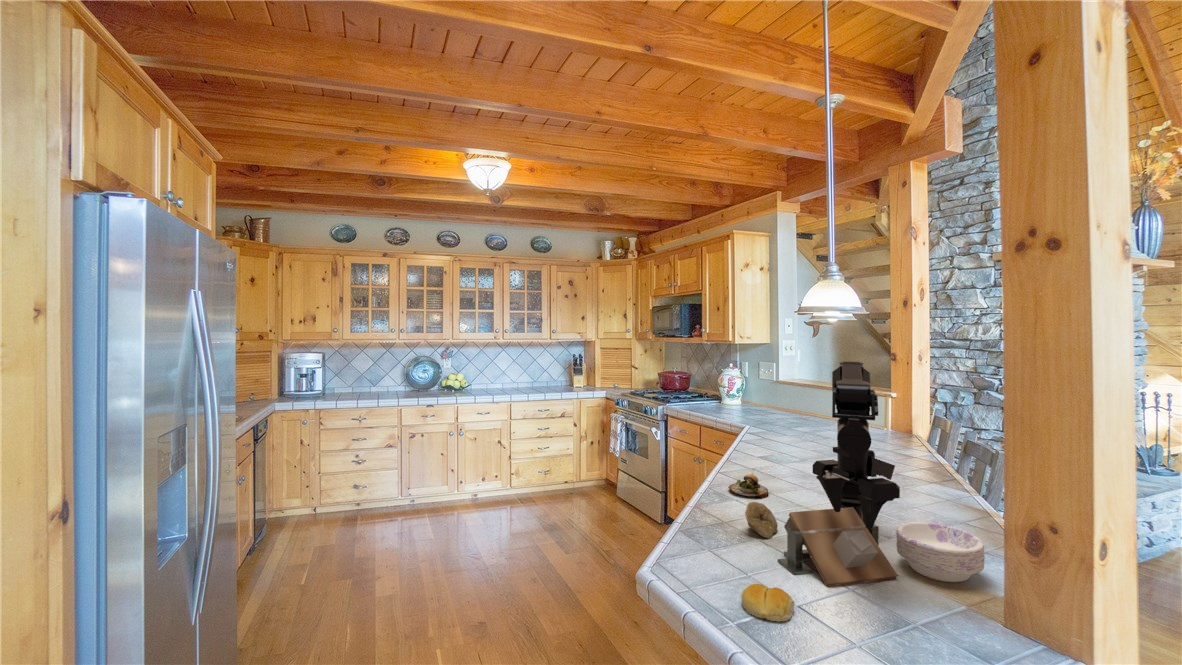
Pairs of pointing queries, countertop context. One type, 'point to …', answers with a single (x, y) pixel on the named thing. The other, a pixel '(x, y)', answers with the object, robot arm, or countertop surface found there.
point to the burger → (749, 487)
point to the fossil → (761, 519)
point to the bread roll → (768, 602)
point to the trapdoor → (819, 541)
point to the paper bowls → (940, 551)
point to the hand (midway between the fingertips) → (852, 519)
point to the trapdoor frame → (804, 551)
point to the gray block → (854, 548)
